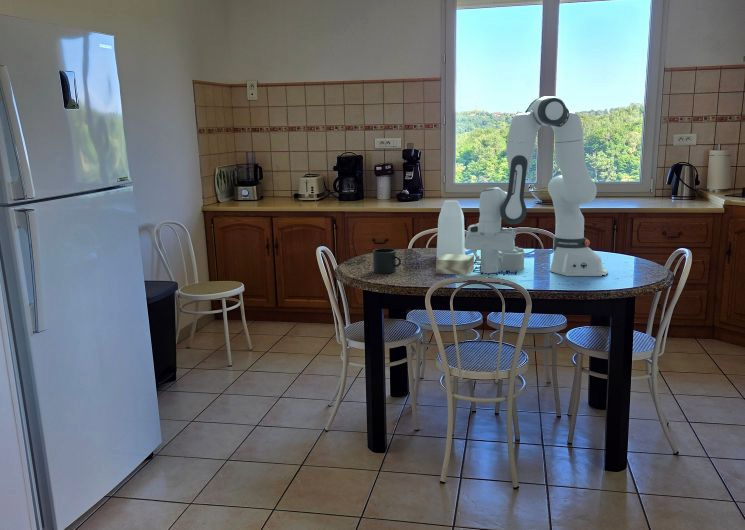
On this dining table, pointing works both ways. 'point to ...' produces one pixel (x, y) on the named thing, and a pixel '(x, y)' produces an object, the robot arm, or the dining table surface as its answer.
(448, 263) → the birch block
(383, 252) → the mug
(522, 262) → the lumpy-topped squat cylinder
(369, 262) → the dining table surface
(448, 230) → the milk
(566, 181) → the robot arm
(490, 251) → the skincare box
